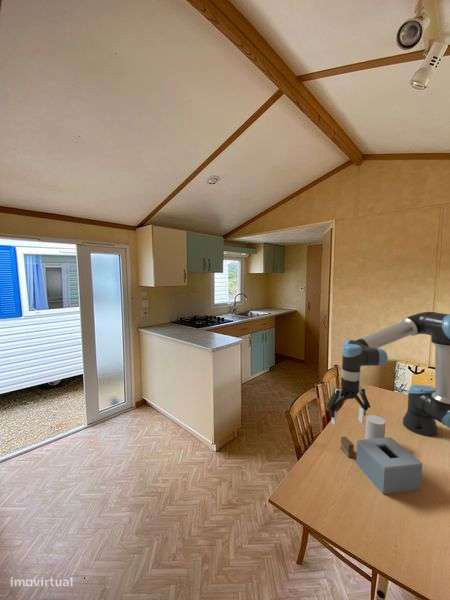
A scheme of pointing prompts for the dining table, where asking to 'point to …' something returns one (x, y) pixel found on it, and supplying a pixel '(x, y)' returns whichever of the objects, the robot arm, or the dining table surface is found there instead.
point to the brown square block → (347, 446)
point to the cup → (374, 427)
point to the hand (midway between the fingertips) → (347, 422)
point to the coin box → (389, 465)
